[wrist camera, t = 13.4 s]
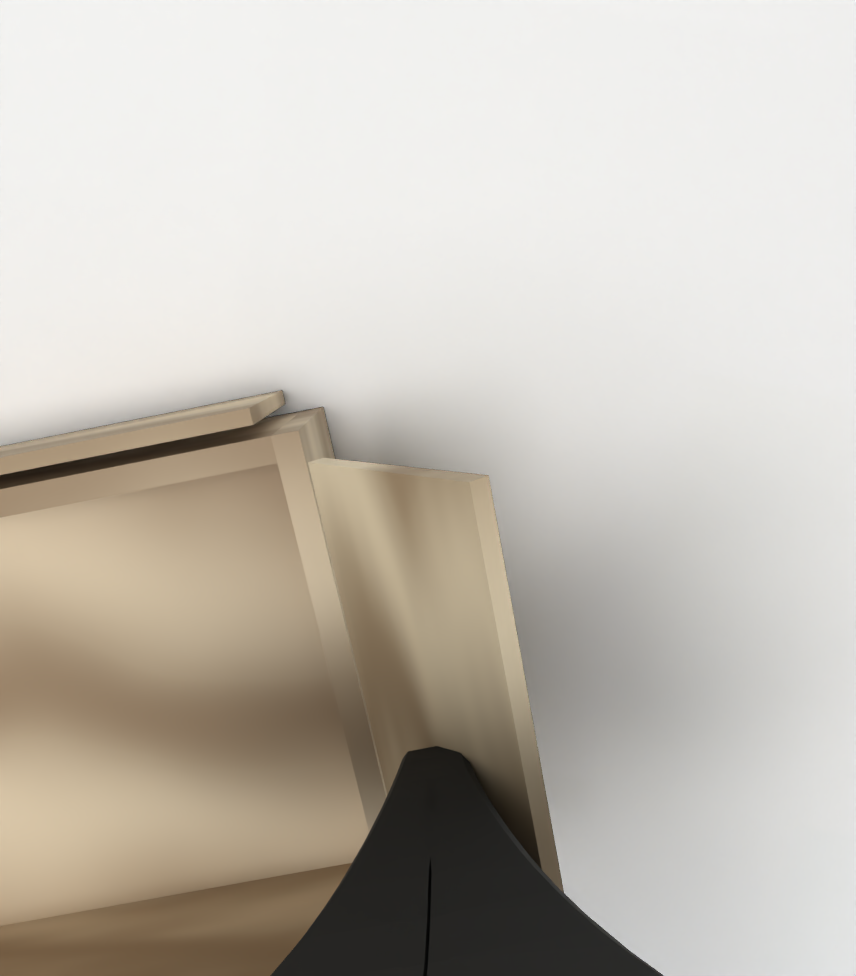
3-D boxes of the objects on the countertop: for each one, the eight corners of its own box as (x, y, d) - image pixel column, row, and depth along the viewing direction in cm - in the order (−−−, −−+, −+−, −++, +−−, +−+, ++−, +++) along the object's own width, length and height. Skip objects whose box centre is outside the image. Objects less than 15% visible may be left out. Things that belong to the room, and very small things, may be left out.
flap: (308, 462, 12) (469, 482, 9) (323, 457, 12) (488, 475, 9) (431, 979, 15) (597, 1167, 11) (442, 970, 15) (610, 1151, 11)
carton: (431, 875, 19) (434, 997, 16) (-103, 970, 19) (-214, 1109, 16) (317, 382, 16) (291, 399, 13) (-310, 507, 16) (-500, 556, 13)
